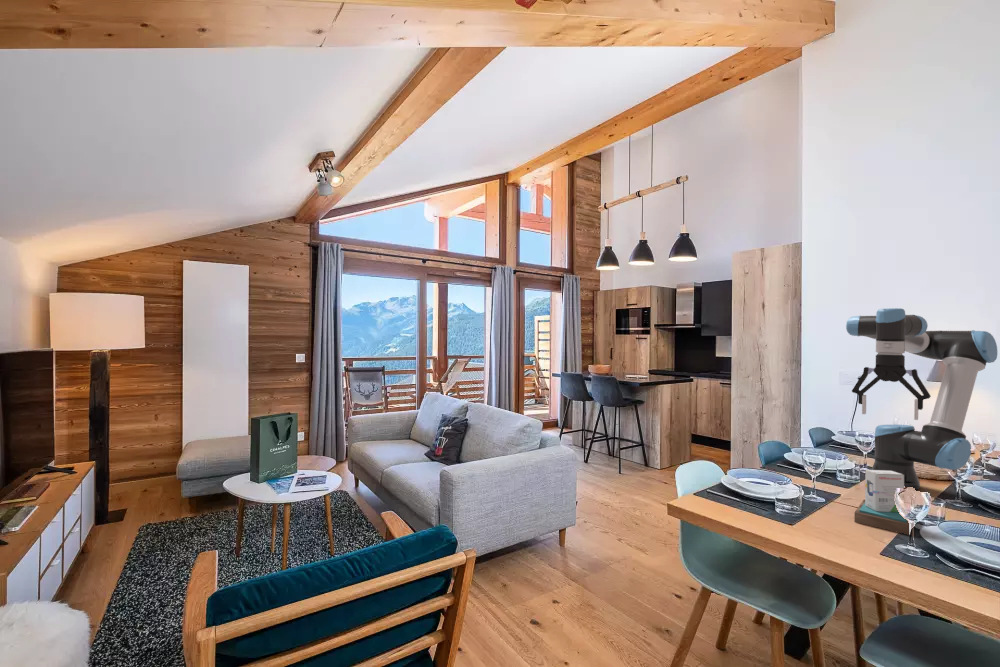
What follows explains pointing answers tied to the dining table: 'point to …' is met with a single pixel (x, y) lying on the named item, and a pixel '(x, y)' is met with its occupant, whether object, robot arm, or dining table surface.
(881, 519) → the walnut tray
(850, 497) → the dining table surface
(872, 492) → the ink box
